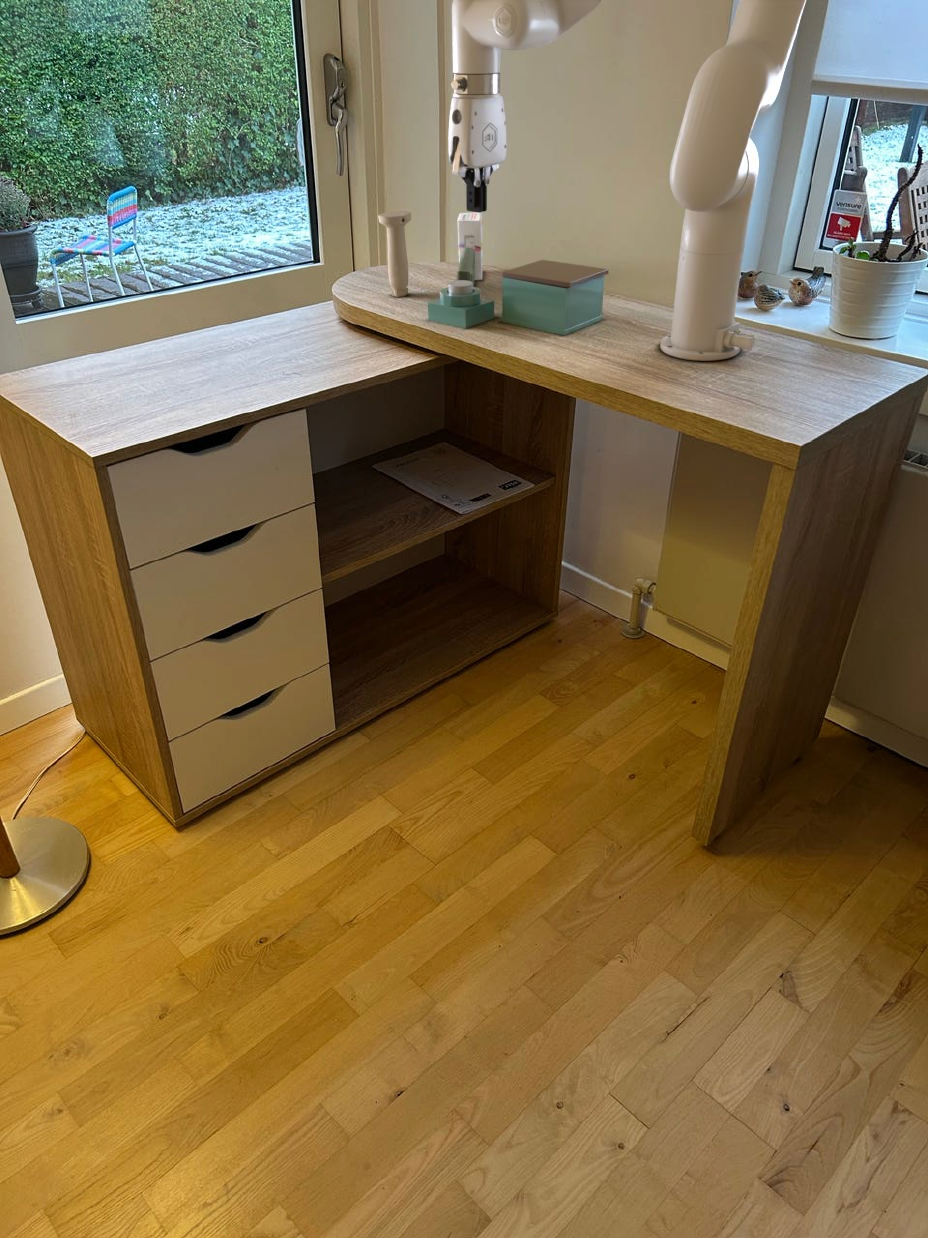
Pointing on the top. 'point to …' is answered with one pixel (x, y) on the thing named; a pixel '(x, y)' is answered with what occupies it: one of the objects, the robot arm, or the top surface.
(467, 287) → the flush button
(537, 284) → the teal bin
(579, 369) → the top surface
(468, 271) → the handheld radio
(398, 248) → the handle
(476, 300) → the flush button base
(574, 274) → the brown rectangular panel
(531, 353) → the top surface
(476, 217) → the ink cartridge box
